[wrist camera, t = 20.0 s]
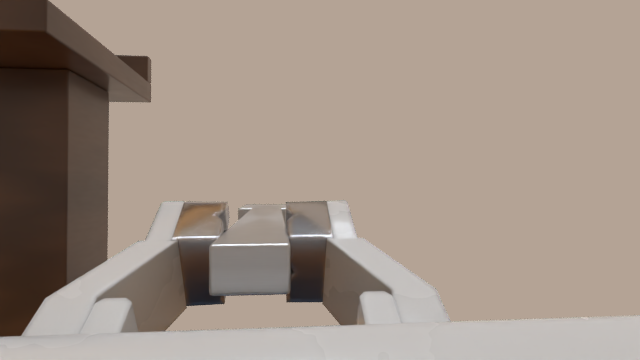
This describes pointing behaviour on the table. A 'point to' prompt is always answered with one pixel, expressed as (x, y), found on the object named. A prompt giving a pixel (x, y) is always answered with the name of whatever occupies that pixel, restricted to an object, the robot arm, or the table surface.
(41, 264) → the stand
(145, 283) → the robot arm
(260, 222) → the fork
